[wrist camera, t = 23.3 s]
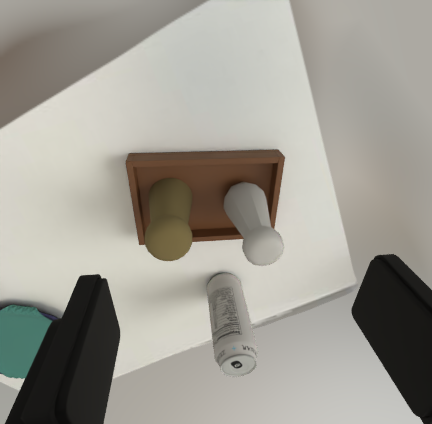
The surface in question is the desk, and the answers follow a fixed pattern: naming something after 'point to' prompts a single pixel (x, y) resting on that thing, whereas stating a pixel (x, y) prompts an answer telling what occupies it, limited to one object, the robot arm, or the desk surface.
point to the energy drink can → (231, 326)
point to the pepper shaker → (169, 219)
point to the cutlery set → (21, 338)
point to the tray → (205, 185)
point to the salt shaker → (253, 223)
